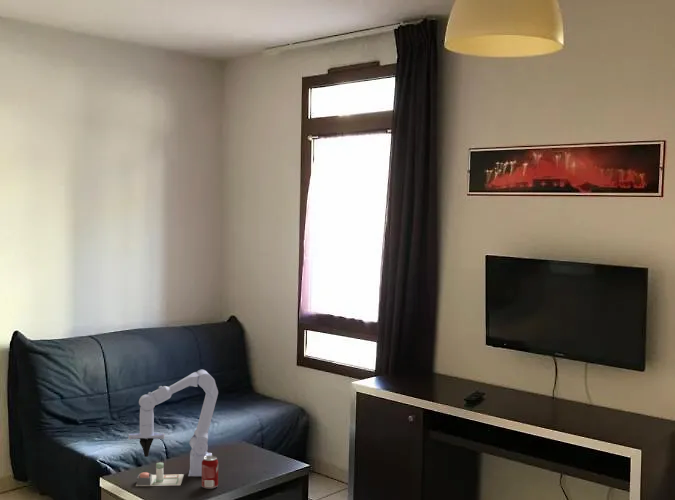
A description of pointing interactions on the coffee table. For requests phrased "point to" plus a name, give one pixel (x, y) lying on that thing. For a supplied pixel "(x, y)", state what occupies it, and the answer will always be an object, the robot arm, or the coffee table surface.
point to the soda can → (210, 472)
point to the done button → (144, 475)
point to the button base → (144, 480)
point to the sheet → (167, 480)
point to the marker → (159, 472)
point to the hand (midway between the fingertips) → (146, 456)
